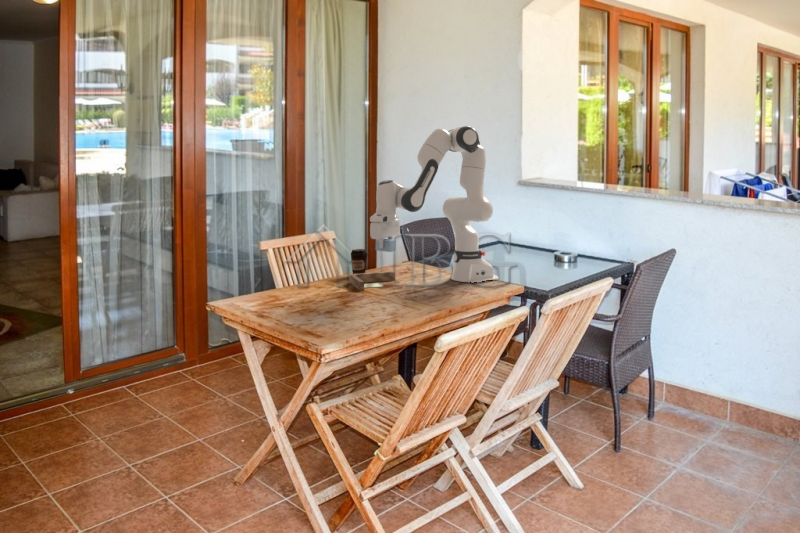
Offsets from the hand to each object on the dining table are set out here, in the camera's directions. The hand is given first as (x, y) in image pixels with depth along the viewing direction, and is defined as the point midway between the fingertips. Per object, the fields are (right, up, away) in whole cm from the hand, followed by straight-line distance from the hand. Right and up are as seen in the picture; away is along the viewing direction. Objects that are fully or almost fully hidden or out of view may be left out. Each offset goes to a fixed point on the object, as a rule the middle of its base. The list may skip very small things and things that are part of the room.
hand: (385, 246), depth 342 cm
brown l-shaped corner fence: (-4, -17, +5) cm, 18 cm away
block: (0, -2, 0) cm, 2 cm away
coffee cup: (-13, -14, +25) cm, 31 cm away
